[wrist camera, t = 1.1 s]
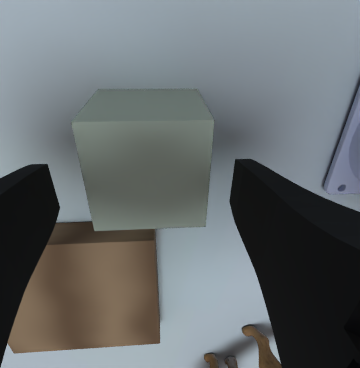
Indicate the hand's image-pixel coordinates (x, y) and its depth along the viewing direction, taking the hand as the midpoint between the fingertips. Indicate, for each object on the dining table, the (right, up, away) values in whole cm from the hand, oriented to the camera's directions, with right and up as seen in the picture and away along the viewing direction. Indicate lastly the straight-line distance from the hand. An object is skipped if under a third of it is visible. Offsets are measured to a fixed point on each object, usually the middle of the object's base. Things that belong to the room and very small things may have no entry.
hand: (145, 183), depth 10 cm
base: (-6, -8, +10) cm, 14 cm away
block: (0, +3, +4) cm, 5 cm away
